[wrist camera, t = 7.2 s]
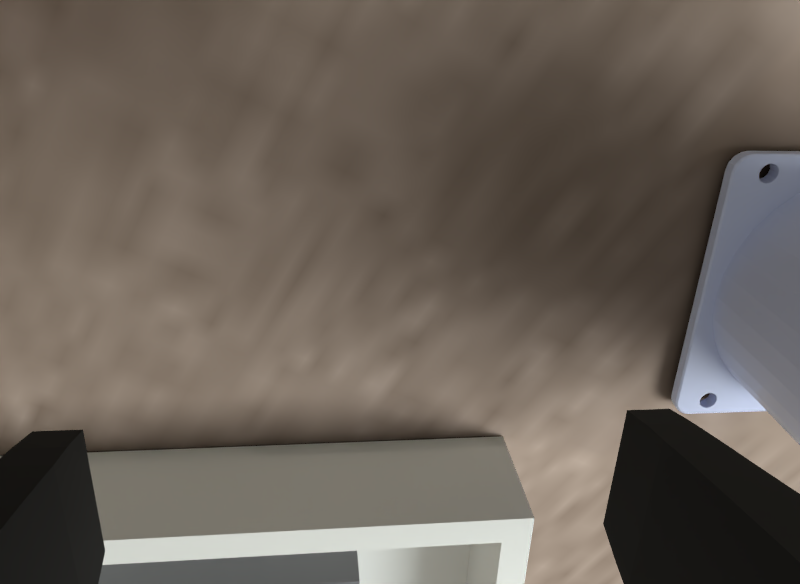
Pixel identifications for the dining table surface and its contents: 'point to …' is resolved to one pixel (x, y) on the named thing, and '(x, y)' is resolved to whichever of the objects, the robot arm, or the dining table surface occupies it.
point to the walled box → (323, 506)
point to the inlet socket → (241, 570)
